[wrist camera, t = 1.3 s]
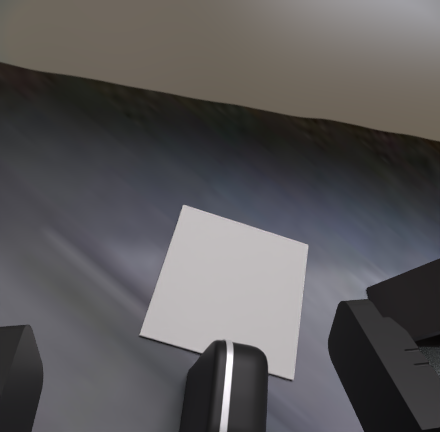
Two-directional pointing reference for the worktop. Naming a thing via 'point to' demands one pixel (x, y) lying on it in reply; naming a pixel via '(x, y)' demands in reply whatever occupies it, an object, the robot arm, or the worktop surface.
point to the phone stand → (412, 302)
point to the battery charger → (226, 390)
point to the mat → (229, 289)
